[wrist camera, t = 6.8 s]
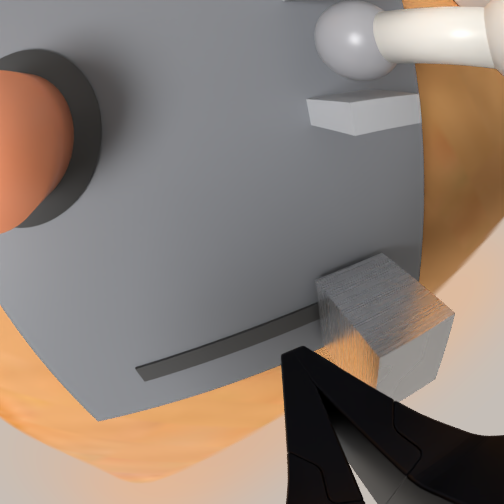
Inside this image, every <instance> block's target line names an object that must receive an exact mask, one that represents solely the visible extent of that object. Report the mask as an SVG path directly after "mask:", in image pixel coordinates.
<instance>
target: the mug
mask: <svg viewBox="0 0 504 504" xmlns="http://www.w3.org/2000/svg"><path fill="white" fill-rule="evenodd" d="M454 1H455V2H456V3H457V4H458V5H459V6H460V7H485V6H486V5H487V4H488V3H489V2H490V1H491V0H454Z"/></svg>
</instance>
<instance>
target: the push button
mask: <svg viewBox="0 0 504 504" xmlns="http://www.w3.org/2000/svg"><path fill="white" fill-rule="evenodd" d="M73 143H74V127H73V120H72V116H71V112H70V109H69V106H68V104H67V102H66V100H65V98H64V96H63V95H62V94H61V92H60V91H59V90H58V89H57V88H56V87H55V86H54V85H53V84H52V83H50V82H49V81H48V80H46V79H44V78H42V77H40V76H37V75H33V74H27V73H20V72H13V71H5V70H0V234H1V233H5V232H7V231H9V230H12V229H13V228H15V227H16V226H18V225H20V224H21V223H22V222H23V221H24V220H25V219H27V217H28V216H29V215H30V214H31V213H32V212H33V211H34V210H35V209H36V208H37V206H38V205H39V204H40V203H41V202H42V201H43V200H44V199H45V198H46V197H47V196H48V195H49V194H50V193H51V192H52V191H53V190H54V189H55V188H56V186H57V185H58V184H59V182H60V181H61V179H62V177H63V176H64V174H65V172H66V170H67V168H68V165H69V162H70V159H71V155H72V151H73Z"/></svg>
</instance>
